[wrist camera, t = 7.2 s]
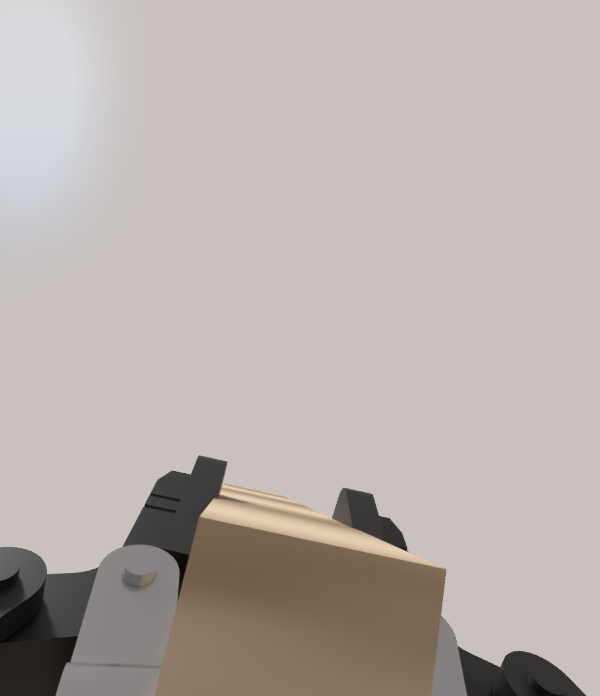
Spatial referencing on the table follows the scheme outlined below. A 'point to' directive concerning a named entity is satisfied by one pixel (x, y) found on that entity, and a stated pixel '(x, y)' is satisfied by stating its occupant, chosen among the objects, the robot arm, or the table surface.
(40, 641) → the robot arm
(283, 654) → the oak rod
